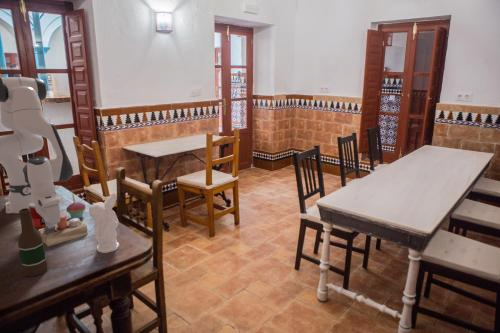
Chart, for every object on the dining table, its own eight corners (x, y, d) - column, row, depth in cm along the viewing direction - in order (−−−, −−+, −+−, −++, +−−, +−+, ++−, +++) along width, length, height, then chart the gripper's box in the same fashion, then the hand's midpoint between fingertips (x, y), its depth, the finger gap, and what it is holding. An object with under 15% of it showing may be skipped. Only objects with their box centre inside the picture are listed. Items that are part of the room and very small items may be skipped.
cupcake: (64, 217, 176) (61, 193, 173) (82, 211, 182) (79, 189, 179) (72, 222, 171) (68, 198, 167) (89, 216, 177) (86, 193, 173)
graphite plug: (44, 239, 153) (42, 227, 152) (55, 236, 156) (53, 224, 155) (47, 242, 150) (45, 230, 149) (58, 239, 153) (56, 227, 152)
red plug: (56, 228, 156) (53, 216, 154) (66, 225, 159) (64, 214, 157) (59, 231, 153) (57, 219, 151) (69, 228, 156) (67, 216, 154)
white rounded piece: (69, 231, 160) (67, 220, 159) (78, 228, 163) (77, 217, 161) (72, 234, 157) (70, 223, 156) (82, 231, 160) (80, 220, 159)
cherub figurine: (100, 257, 140) (91, 204, 134) (86, 246, 148) (77, 196, 142) (128, 245, 149) (122, 195, 142) (113, 236, 157) (107, 188, 150)
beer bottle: (30, 266, 134) (18, 205, 127) (52, 265, 134) (41, 204, 128) (19, 278, 126) (6, 214, 120) (42, 276, 127) (30, 213, 120)
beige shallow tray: (39, 238, 155) (38, 229, 154) (78, 226, 166) (76, 218, 165) (48, 246, 148) (46, 238, 147) (87, 234, 159) (86, 225, 157)
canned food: (43, 229, 163) (39, 206, 160) (28, 228, 165) (24, 205, 162) (55, 222, 170) (52, 200, 167) (41, 221, 172) (37, 199, 169)
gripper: (28, 192, 153) (33, 222, 157) (43, 204, 139) (49, 237, 143) (44, 188, 157) (49, 218, 161) (61, 200, 143) (66, 232, 147)
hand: (49, 227), depth 152 cm, fingers closed, pressing on graphite plug
